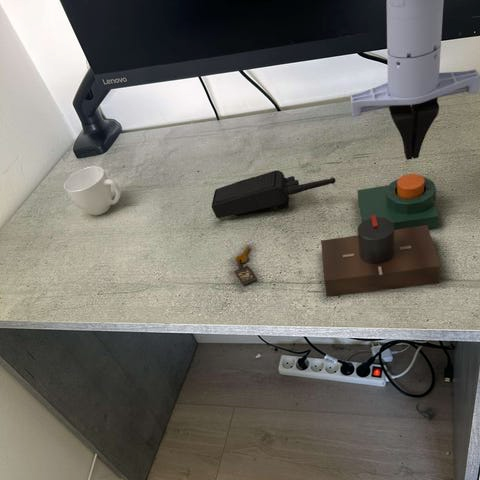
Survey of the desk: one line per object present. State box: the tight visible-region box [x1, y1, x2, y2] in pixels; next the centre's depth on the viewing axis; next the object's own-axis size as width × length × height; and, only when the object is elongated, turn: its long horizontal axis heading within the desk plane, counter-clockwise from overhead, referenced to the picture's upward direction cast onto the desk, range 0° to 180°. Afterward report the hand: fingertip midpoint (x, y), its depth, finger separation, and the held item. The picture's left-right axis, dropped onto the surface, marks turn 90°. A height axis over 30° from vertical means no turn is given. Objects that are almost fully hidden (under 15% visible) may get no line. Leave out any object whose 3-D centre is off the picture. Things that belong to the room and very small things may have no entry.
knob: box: [357, 215, 394, 263], centre depth 62 cm, size 4×4×4 cm
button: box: [397, 173, 425, 199], centre depth 68 cm, size 4×4×2 cm
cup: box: [63, 166, 122, 217], centre depth 90 cm, size 8×10×7 cm
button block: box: [357, 176, 440, 230], centre depth 71 cm, size 10×9×4 cm
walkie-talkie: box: [211, 170, 336, 219], centre depth 78 cm, size 6×6×20 cm
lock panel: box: [320, 225, 441, 297], centre depth 64 cm, size 14×9×3 cm, turn 87°
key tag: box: [234, 245, 258, 287], centre depth 72 cm, size 8×3×1 cm, turn 7°
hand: (411, 155), depth 65 cm, fingers closed
